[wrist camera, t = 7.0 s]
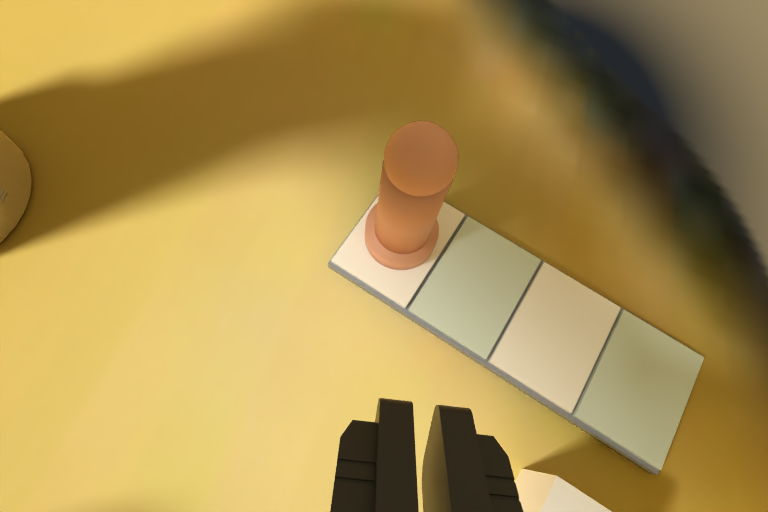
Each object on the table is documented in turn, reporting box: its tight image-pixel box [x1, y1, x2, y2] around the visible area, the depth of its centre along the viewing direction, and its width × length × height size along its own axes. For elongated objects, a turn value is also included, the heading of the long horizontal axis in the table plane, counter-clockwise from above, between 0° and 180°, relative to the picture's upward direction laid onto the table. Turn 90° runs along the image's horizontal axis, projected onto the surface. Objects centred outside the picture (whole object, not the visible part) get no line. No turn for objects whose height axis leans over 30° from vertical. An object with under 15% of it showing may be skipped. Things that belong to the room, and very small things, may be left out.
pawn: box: [365, 121, 458, 270], centre depth 23 cm, size 4×4×10 cm
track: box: [328, 194, 704, 474], centre depth 27 cm, size 20×7×1 cm, turn 57°
